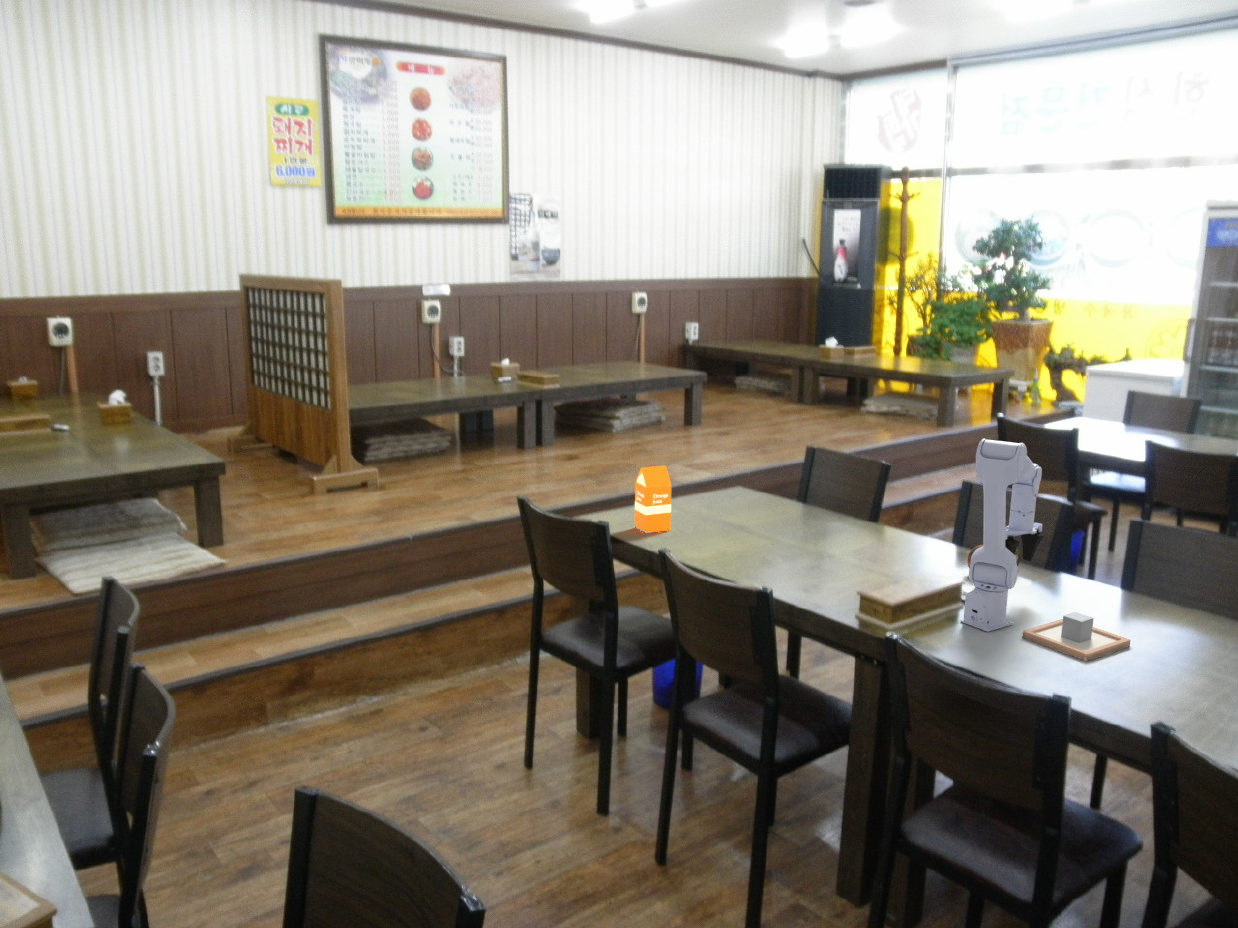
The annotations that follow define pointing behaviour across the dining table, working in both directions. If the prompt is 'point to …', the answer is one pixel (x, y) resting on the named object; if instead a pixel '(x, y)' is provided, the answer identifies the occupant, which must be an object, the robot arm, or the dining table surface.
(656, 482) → the orange juice
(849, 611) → the dining table surface
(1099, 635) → the picture frame
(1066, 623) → the block
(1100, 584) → the dining table surface
